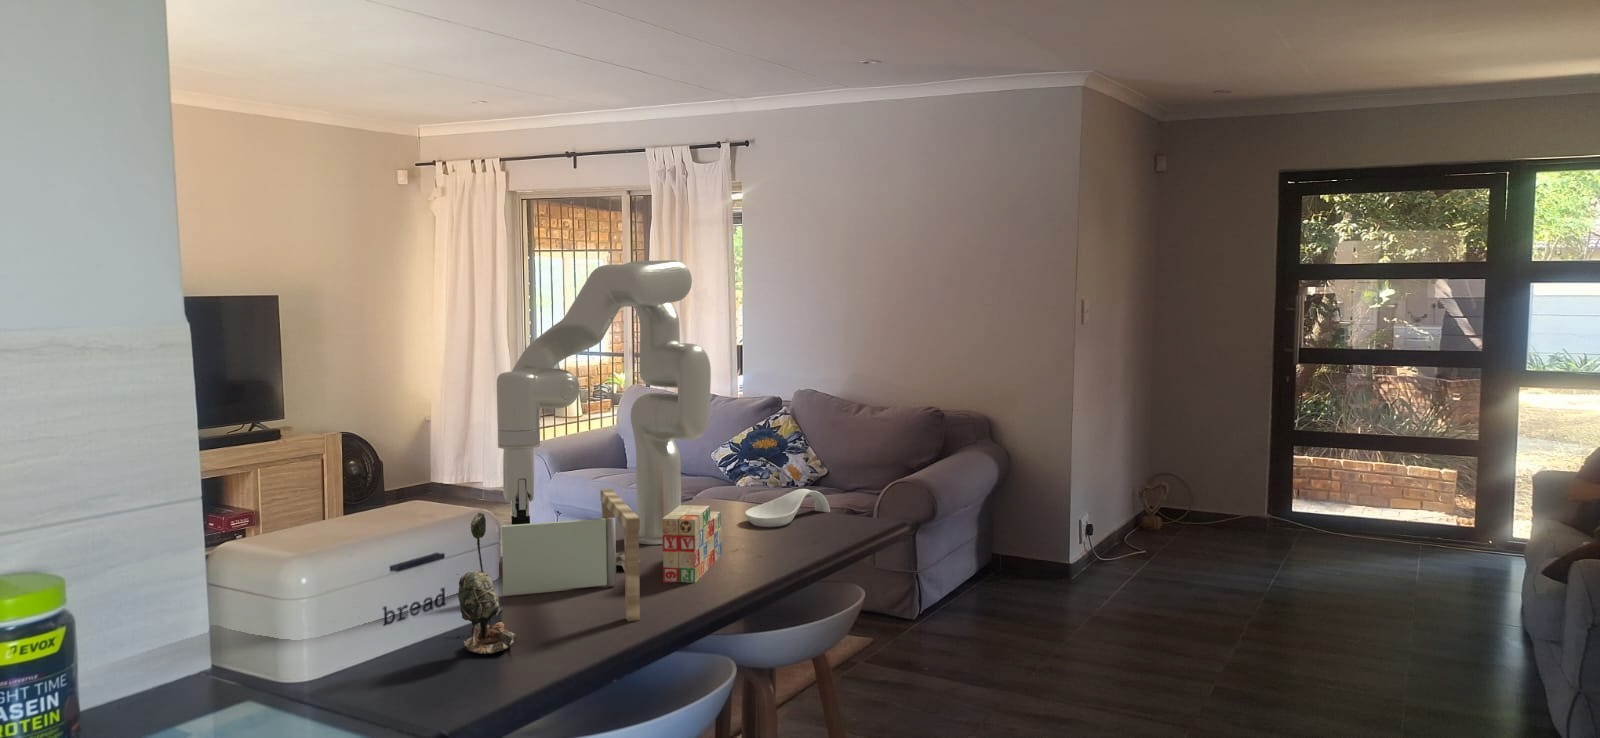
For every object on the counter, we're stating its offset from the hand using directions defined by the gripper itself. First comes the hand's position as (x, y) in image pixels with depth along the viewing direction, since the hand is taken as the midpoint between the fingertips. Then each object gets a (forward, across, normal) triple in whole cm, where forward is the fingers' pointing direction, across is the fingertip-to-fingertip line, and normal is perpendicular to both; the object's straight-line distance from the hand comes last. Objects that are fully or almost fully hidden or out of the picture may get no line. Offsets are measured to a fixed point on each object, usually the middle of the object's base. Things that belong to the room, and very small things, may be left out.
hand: (521, 536), depth 201 cm
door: (+8, +10, +15) cm, 20 cm away
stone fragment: (+7, -5, +9) cm, 13 cm away
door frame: (+8, +10, +15) cm, 20 cm away
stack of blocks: (+8, +2, +32) cm, 33 cm away
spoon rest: (+9, -32, +63) cm, 71 cm away
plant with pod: (+8, +37, -8) cm, 39 cm away
